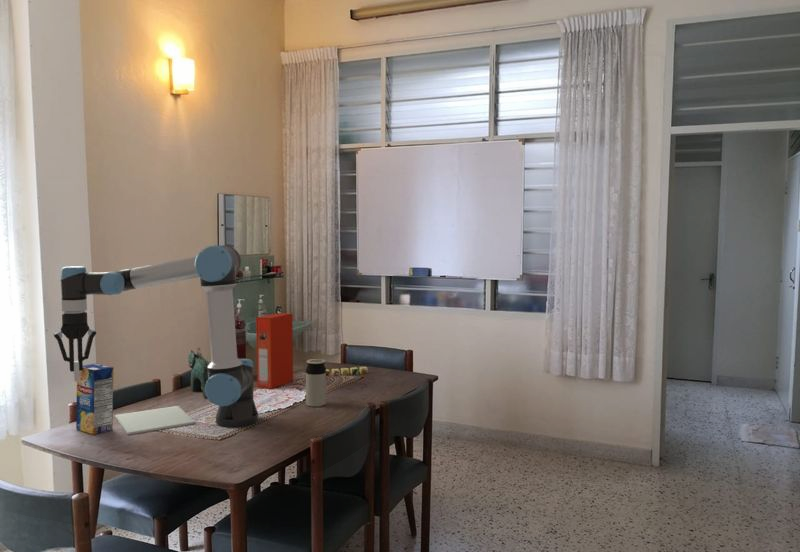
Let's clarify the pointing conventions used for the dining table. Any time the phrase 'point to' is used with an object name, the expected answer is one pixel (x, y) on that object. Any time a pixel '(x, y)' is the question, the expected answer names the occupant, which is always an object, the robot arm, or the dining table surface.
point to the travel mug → (315, 383)
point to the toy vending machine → (240, 342)
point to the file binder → (274, 350)
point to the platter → (347, 371)
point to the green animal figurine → (198, 371)
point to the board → (153, 420)
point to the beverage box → (95, 399)
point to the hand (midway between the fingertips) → (76, 380)
